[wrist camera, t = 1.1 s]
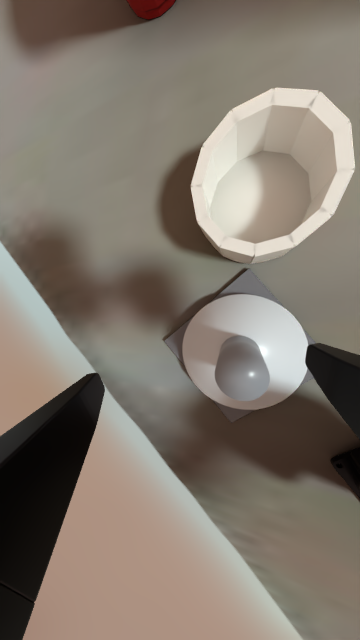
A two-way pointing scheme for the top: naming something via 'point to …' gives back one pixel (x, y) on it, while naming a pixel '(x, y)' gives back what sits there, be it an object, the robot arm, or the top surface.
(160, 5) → the plastic cup
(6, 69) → the top surface
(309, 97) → the bowl
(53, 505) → the robot arm
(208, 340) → the lid
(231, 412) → the mat
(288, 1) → the top surface
